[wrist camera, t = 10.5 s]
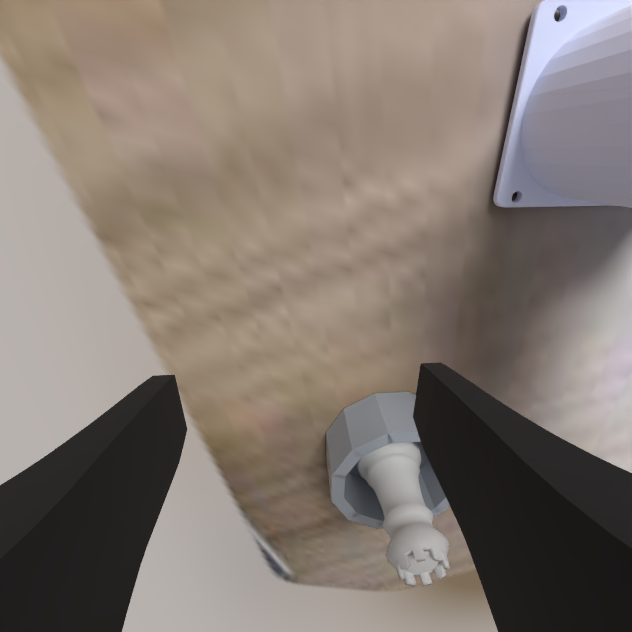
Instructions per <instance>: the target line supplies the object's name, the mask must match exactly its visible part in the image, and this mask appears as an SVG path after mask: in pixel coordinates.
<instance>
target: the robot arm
mask: <svg viewBox="0 0 632 632" xmlns="http://www.w3.org/2000/svg"><path fill="white" fill-rule="evenodd" d="M556 9H557V10H559V12H560V18H559V20H558V22H557V21H555V19H554V13H555V10H556ZM515 192H517V197H516V199H515V200H514V201H512V195H513V194H514V193H515ZM493 201H494V203H495V204H496V205H497V206H500V207H556V206H609V205H616V206H622V207H629V208H632V0H544V1H542V2H541V3H539V4H538V5H537V6H536V7H535V9H534V10H533V13H532V15H531V19H530V24H529V29H528V34H527V39H526V43H525V48H524V53H523V58H522V62H521V67H520V72H519V77H518V81H517V86H516V91H515V96H514V101H513V105H512V110H511V115H510V120H509V124H508V129H507V134H506V139H505V144H504V148H503V153H502V158H501V163H500V167H499V172H498V177H497V182H496V186H495V191H494V196H493ZM413 419H414V422H415V425H416V428H417V432H418V435H419V438H420V441H421V444H422V447H423V449H424V451H425V454H426V456H427V458H428V460H429V462H430V464H431V467H432V469H433V471H434V473H435V475H436V477H437V479H438V481H439V483H440V486H441V488H442V490H443V492H444V494H445V496H446V498H447V500H448V502H449V505H450V507H451V509H452V511H453V513H454V515H455V517H456V519H457V521H458V524H459V526H460V528H461V531H462V533H463V535H464V538H465V540H466V542H467V545H468V548H469V551H470V553H471V556H472V559H473V561H474V564H475V567H476V570H477V572H478V575H479V578H480V580H481V583H482V586H483V589H484V592H485V595H486V598H487V600H488V604H489V606H490V609H491V612H492V615H493V618H494V621H495V624H496V626H497V630H498V632H632V473H630V472H628V471H626V470H623V469H621V468H619V467H617V466H615V465H612V464H610V463H608V462H606V461H604V460H602V459H600V458H598V457H596V456H594V455H592V454H590V453H588V452H586V451H584V450H582V449H580V448H578V447H577V446H575V445H573V444H571V443H569V442H567V441H565V440H563V439H561V438H559V437H558V436H556V435H554V434H552V433H550V432H549V431H547V430H545V429H543V428H542V427H540V426H538V425H537V424H535V423H533V422H532V421H530V420H528V419H527V418H525V417H523V416H522V415H520V414H518V413H517V412H515V411H514V410H512V409H511V408H509V407H507V406H506V405H504V404H503V403H501V402H500V401H498V400H497V399H495V398H494V397H492V396H491V395H489V394H488V393H486V392H485V391H483V390H482V389H480V388H479V387H477V386H476V385H474V384H473V383H471V382H470V381H468V380H467V379H465V378H464V377H462V376H461V375H460V374H458V373H457V372H455V371H454V370H452V369H450V368H449V367H447V366H446V365H444V364H442V363H423V364H421V366H420V373H419V379H418V386H417V393H416V399H415V406H414V412H413ZM186 432H187V427H186V422H185V418H184V413H183V409H182V405H181V400H180V396H179V392H178V387H177V383H176V379H175V375H160V376H152V377H151V378H149V379H148V380H146V381H145V382H144V383H142V384H141V385H140V386H138V387H137V388H136V389H134V390H133V391H132V392H131V393H129V394H128V395H127V396H126V397H124V398H123V399H122V400H121V401H119V402H118V403H117V404H115V405H114V406H113V407H112V408H110V409H109V410H108V411H106V412H105V413H104V414H103V415H101V416H100V417H99V418H97V419H96V420H95V421H94V422H92V423H91V424H90V425H88V426H87V427H85V428H84V429H83V430H81V431H80V432H79V433H78V434H76V435H74V436H73V437H72V438H70V439H69V440H68V441H66V442H65V443H63V444H62V445H61V446H59V447H58V448H57V449H55V450H54V451H52V452H51V453H49V454H48V455H47V456H45V457H44V458H42V459H41V460H39V461H38V462H36V463H35V464H33V465H32V466H30V467H29V468H27V469H26V470H24V471H22V472H21V473H19V474H18V475H16V476H15V477H13V478H11V479H10V480H8V481H7V482H5V483H3V484H2V485H0V632H122V628H123V625H124V621H125V617H126V613H127V610H128V606H129V603H130V599H131V596H132V592H133V588H134V586H135V582H136V579H137V575H138V572H139V568H140V564H141V562H142V559H143V556H144V553H145V550H146V547H147V544H148V542H149V539H150V537H151V534H152V532H153V529H154V527H155V524H156V521H157V519H158V516H159V514H160V511H161V509H162V506H163V503H164V501H165V498H166V495H167V493H168V490H169V488H170V485H171V483H172V480H173V477H174V475H175V472H176V469H177V467H178V464H179V461H180V457H181V453H182V449H183V445H184V441H185V436H186Z"/></svg>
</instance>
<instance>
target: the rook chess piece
mask: <svg viewBox="0 0 632 632" xmlns="http://www.w3.org/2000/svg"><path fill="white" fill-rule="evenodd" d="M420 463H421V454H420V450H419V447H418V445H417V442H406V443H390V444H388V445H386V446H384V447H382V448H380V449H378V450H375V451H373V452H371V453H369V454H367V455H365V456H363V457H361V458H360V460H359V461H358V462H357V463H356V465H357V468H358V471H359V473H360V475H361V477H363V478H364V479H365V480H366V481H367V482H368V485H370V486H371V487H372V488H373V489H374V491H375V492H376V495H377V497H378V500H379V502H380V504H381V507H382V509H383V513H384V517H385V519H384V522H383V527H384V530H385V531H386V532H387V533H388V534H389V535H390V539H391V541H390V543H389V546H388V549H387V552H386V557H387V560H388V562H389V563H390V564H391V565H392V566H393V567H395V568H396V569H397V572H398V575H399V578H400V580H403V579H404V580H405V584H406V585H410V586H414V585H415V584H416V582H415V578H414V576H420V578H421V581H422V584H423V586H426V585H430V584H432V580H431V577H430V574H429V573H431V572H434V571H435V573H436V575H437V578H438V579H441V580H442V579H443V578H444V577H445V576H446V575H447V572H446V570H445V569H450V566H449V562H448V560H447V553H448V550H449V542H448V539H447V538H446V537H445V536H443V535H442V534H441V533H440V532H438V531H437V530H436V529H434V527H433V525H432V522H433V519H434V518H433V513H432V512H431V511H430V510H429V509H428V508H427V507H426V505H425V502H424V500H423V497H422V493H421V489H420V485H419V478H418V476H419V473H420V468H419V466H420Z"/></svg>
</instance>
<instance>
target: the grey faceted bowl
mask: <svg viewBox="0 0 632 632" xmlns="http://www.w3.org/2000/svg"><path fill="white" fill-rule="evenodd" d="M415 399H416V395H415V394H413V393H411V392H392V393H374V394H372V395H370V396H368V397H366V398H364V399H362V400H360V401H358V402H356V403H354V404H352V405H350V406H348V407H346V408H344V409H343V410H342V411H341V413H340V414H339V416H338V417H337V418H336V420H335V421H334V422H333V424H332V425H331V426H330V428H329V429H328V430H327V432H326V460H327V468H328V477H329V485H330V494H331V501H332V502H333V503H334V505H335V506H336V507H337V508H338V509H339V510H340V511H341V512H342V513H343V515H344V516H345V517H346V518H347V519H348V520H350V521H353V522H357V523H360V524H363V525H366V526H370V527H373V528H376V529H381V528H384V527H383V522H384V519H385V517H384V513H383V509H382V507H381V504H380V502H379V500H378V497H377V495H376V492H375V491H374V489H373V488H372V487H371V486H370V485H368V482H367V481H366V480H365V479H364V478H363V477H361V475H360V473H359V471H358V468H357V465H356V463H357V462H358V461H359V460H360V458H361V457H363V456H365V455H367V454H369V453H371V452H373V451H375V450H378V449H380V448H382V447H384V446H386V445H388V444H390V443H406V442H417V445H418V447H419V450H420V454H421V463H420V466H419V468H420V473H419V476H418V478H419V485H420V489H421V493H422V497H423V500H424V502H425V505H426V507H427V508H428V509H429V510H430V511H431V512H432V513H433V517H434V516H437V515H439V514H442V513H443V512H444V511H445V510H446V509H447V508H448V507H449V506H450V505H449V502H448V500H447V498H446V496H445V494H444V492H443V490H442V488H441V486H440V483H439V481H438V479H437V477H436V475H435V473H434V471H433V469H432V467H431V464H430V462H429V460H428V458H427V456H426V454H425V451H424V449H423V447H422V444H421V441H420V438H419V435H418V432H417V428H416V425H415V422H414V419H413V412H414V406H415Z"/></svg>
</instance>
